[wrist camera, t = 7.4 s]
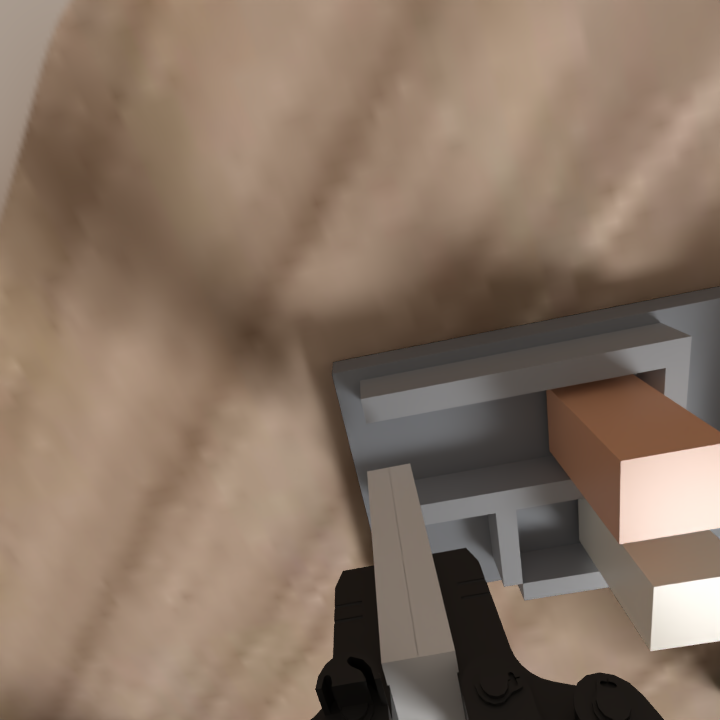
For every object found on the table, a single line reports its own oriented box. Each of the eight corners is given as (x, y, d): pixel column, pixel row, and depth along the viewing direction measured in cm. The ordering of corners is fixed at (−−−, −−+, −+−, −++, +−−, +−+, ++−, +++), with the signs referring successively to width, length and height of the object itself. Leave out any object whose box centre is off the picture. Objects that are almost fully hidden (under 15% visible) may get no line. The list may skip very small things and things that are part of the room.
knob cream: (579, 540, 19) (650, 651, 15) (577, 485, 18) (654, 587, 14) (647, 528, 19) (742, 637, 14) (650, 473, 18) (752, 571, 13)
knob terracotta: (549, 450, 18) (619, 544, 13) (545, 384, 17) (620, 460, 12) (624, 437, 17) (723, 527, 13) (625, 369, 16) (734, 441, 12)
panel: (386, 577, 22) (393, 670, 18) (333, 362, 18) (326, 416, 13) (931, 488, 20) (1084, 568, 16) (1019, 227, 16) (1260, 241, 12)
